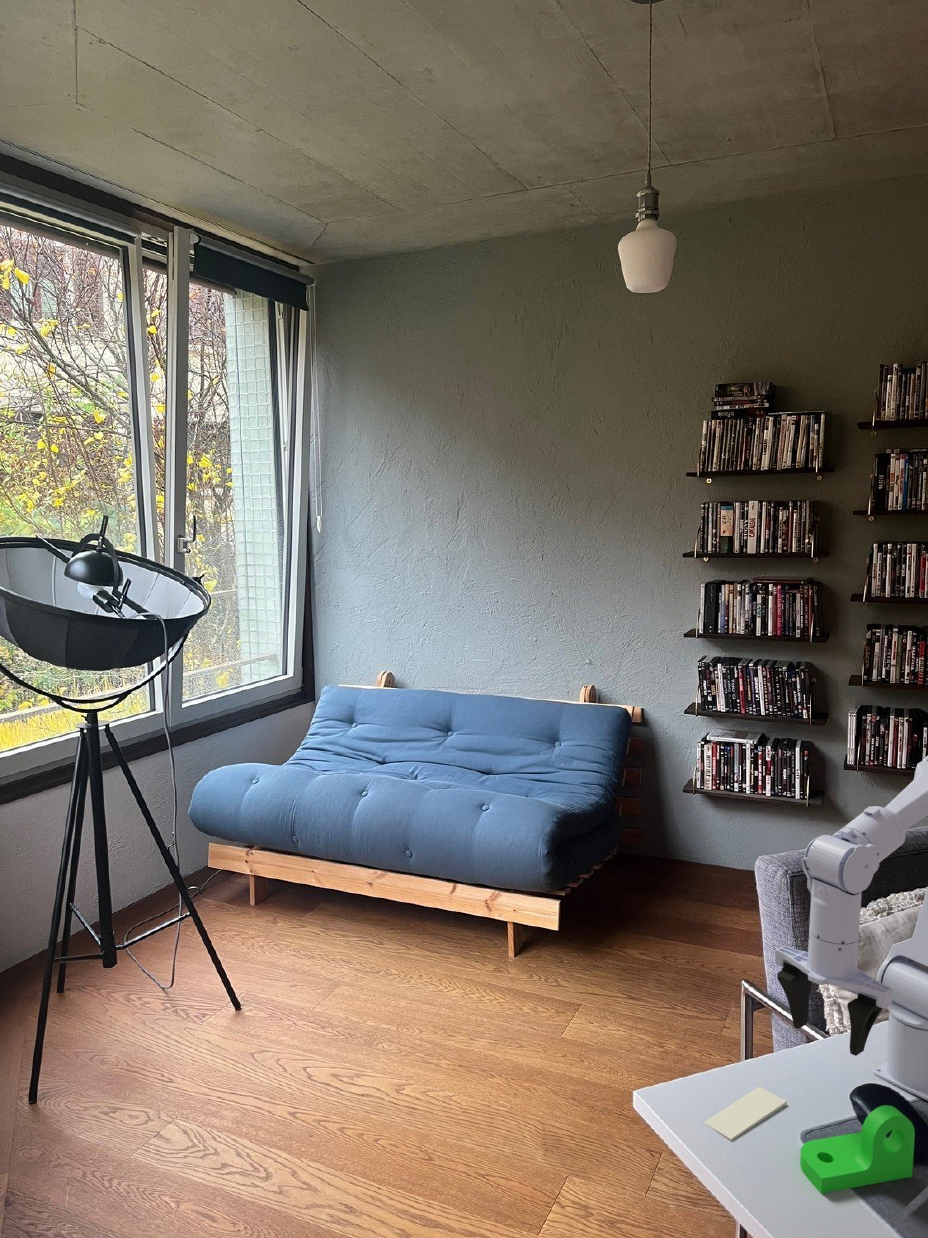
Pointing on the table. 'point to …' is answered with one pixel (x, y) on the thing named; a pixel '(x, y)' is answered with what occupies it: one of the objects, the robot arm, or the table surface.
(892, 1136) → the mechanical part
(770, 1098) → the plate
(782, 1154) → the table surface
